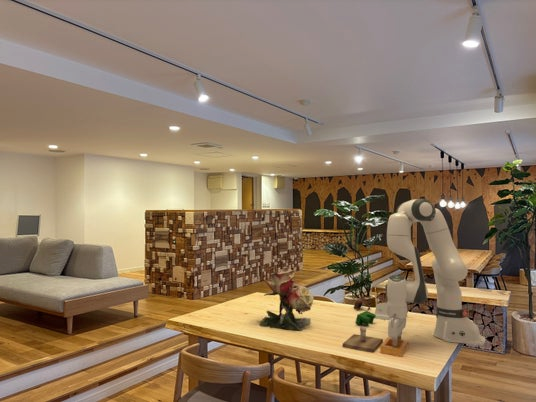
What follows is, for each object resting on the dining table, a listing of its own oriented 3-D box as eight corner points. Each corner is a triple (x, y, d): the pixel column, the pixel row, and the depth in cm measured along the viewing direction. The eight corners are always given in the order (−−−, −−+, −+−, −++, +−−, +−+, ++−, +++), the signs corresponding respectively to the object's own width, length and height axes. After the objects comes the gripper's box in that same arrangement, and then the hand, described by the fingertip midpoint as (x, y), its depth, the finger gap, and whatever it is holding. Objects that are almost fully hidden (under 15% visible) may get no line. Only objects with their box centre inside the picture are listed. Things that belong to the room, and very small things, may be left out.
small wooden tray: (407, 347, 177) (407, 340, 177) (401, 356, 166) (401, 349, 166) (387, 343, 182) (387, 337, 182) (380, 352, 170) (380, 345, 171)
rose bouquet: (310, 332, 199) (310, 272, 200) (256, 326, 208) (256, 270, 209) (320, 319, 223) (320, 266, 224) (271, 314, 232) (271, 263, 233)
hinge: (373, 318, 225) (374, 300, 228) (374, 319, 229) (375, 301, 232) (404, 321, 218) (404, 303, 221) (405, 322, 222) (405, 304, 225)
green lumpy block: (365, 334, 210) (365, 321, 206) (355, 329, 214) (355, 316, 210) (376, 321, 218) (376, 308, 214) (366, 317, 221) (367, 304, 218)
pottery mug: (355, 307, 253) (361, 296, 253) (367, 316, 248) (374, 304, 248) (349, 306, 243) (355, 294, 243) (361, 315, 238) (368, 303, 238)
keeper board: (382, 342, 184) (382, 324, 184) (373, 352, 170) (373, 333, 171) (353, 337, 191) (353, 320, 192) (342, 347, 177) (342, 328, 178)
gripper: (399, 318, 169) (399, 350, 168) (408, 308, 186) (408, 337, 186) (384, 316, 172) (384, 348, 171) (394, 306, 189) (395, 335, 189)
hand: (397, 342), depth 179 cm, fingers open, 7 cm apart
